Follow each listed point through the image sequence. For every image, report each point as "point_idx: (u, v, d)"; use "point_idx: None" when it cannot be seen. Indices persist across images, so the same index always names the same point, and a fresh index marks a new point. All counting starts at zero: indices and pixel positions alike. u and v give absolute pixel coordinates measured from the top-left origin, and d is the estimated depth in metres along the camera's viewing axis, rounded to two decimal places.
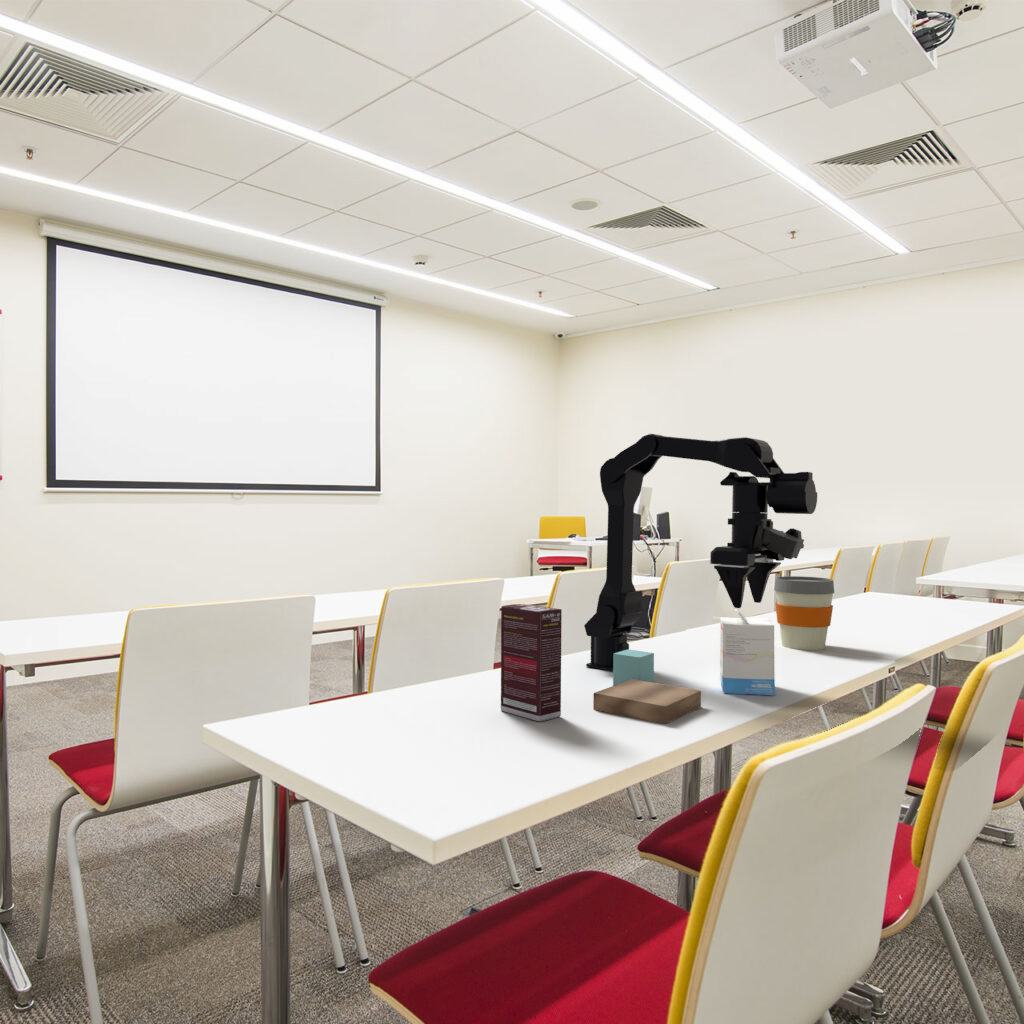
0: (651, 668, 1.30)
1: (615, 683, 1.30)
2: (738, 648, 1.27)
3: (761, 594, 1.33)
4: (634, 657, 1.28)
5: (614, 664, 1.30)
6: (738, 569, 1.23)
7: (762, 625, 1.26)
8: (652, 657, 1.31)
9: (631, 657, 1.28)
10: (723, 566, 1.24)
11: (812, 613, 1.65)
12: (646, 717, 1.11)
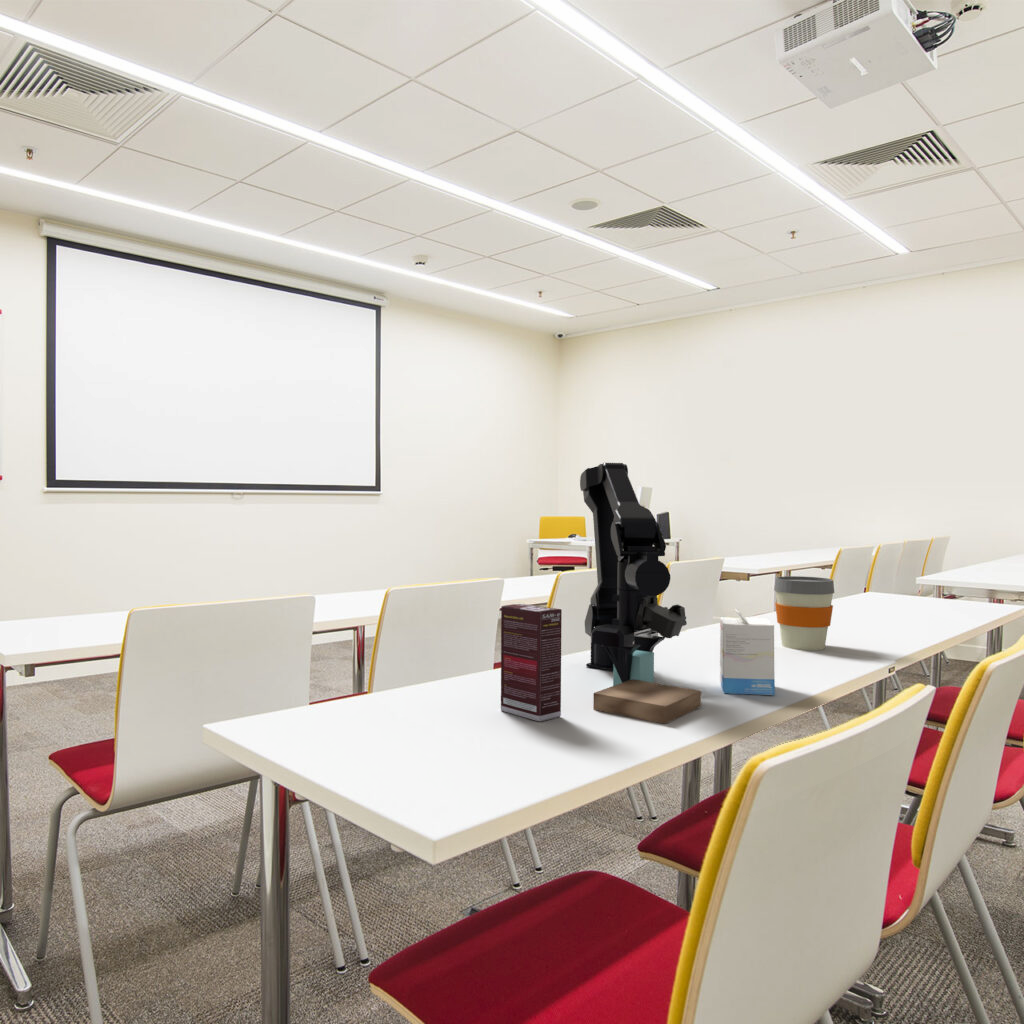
0: (651, 668, 1.30)
1: (615, 683, 1.30)
2: (738, 648, 1.27)
3: None
4: (634, 657, 1.28)
5: None
6: (622, 647, 1.25)
7: (762, 625, 1.26)
8: (652, 657, 1.31)
9: None
10: None
11: (812, 613, 1.65)
12: (646, 717, 1.11)
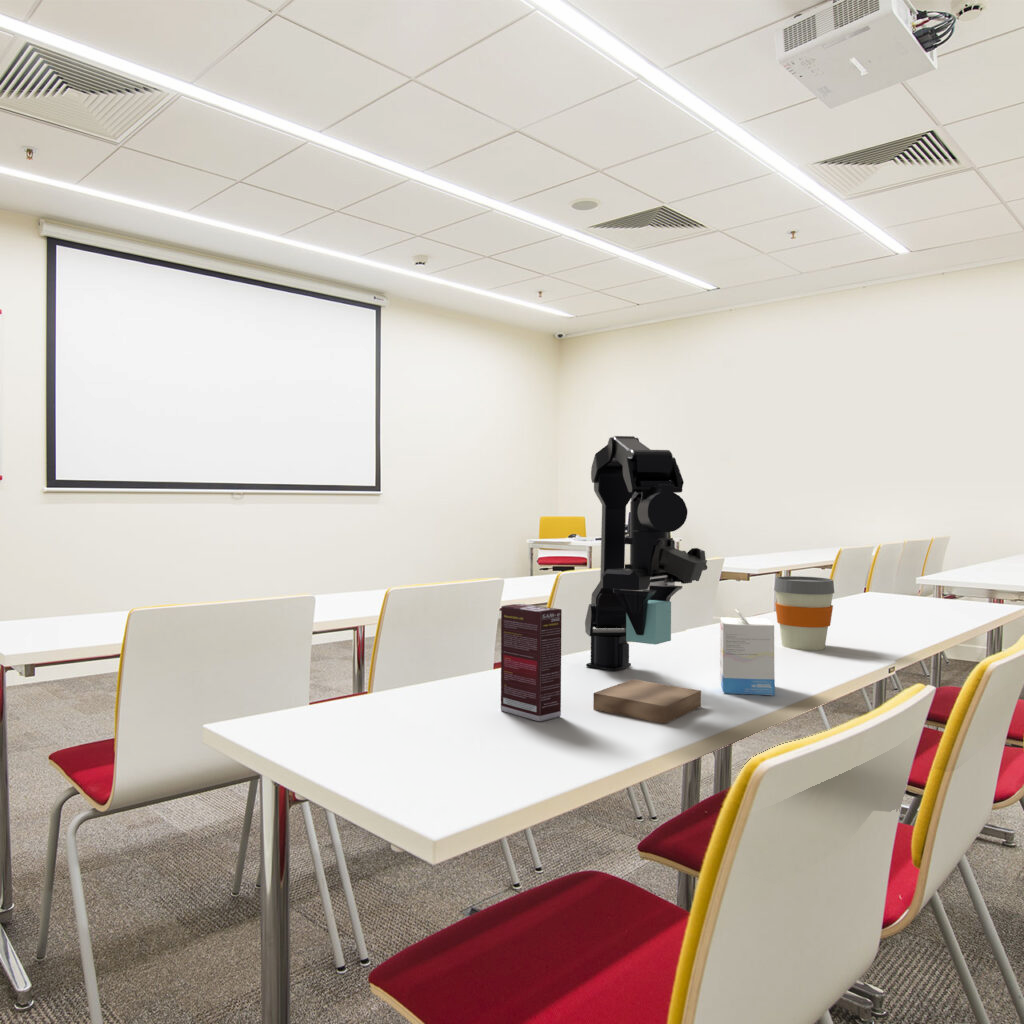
0: (668, 618, 1.18)
1: (628, 634, 1.17)
2: (738, 648, 1.27)
3: None
4: (649, 604, 1.15)
5: None
6: (637, 593, 1.12)
7: (762, 625, 1.26)
8: (669, 606, 1.18)
9: None
10: (622, 589, 1.14)
11: (812, 613, 1.65)
12: (646, 717, 1.11)
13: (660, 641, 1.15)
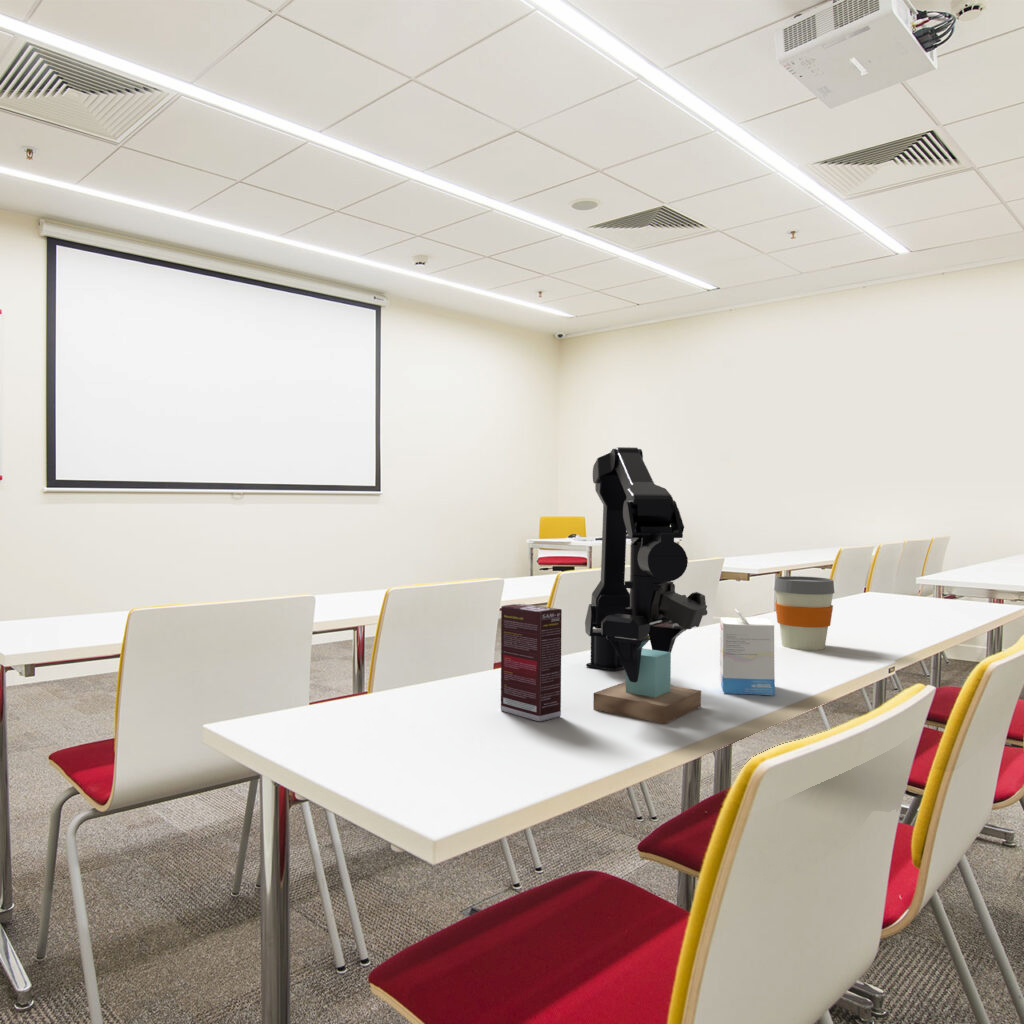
0: (668, 669, 1.17)
1: (628, 686, 1.17)
2: (738, 648, 1.27)
3: None
4: (649, 657, 1.15)
5: None
6: (630, 641, 1.10)
7: (762, 625, 1.26)
8: (669, 657, 1.18)
9: (646, 657, 1.15)
10: (615, 637, 1.12)
11: (812, 613, 1.65)
12: (646, 717, 1.11)
13: (659, 693, 1.15)
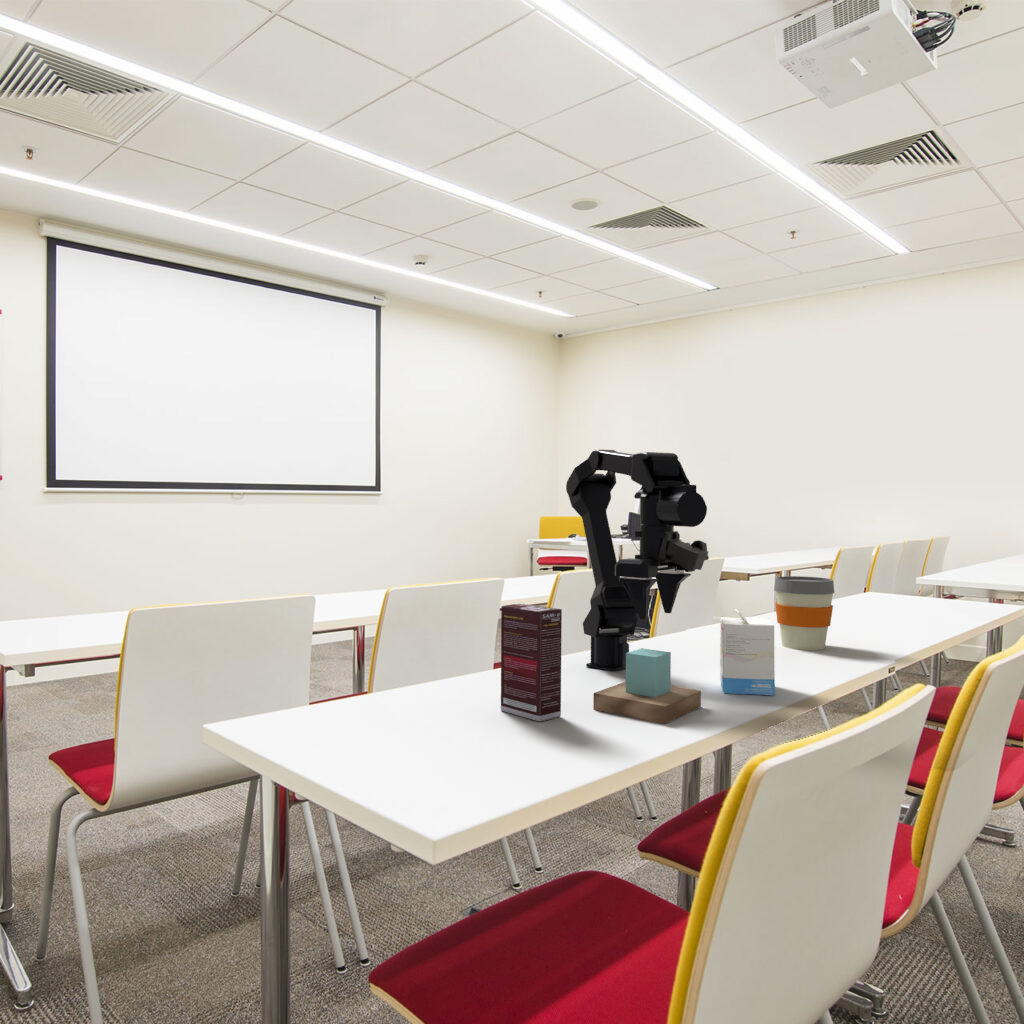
0: (668, 669, 1.17)
1: (628, 686, 1.17)
2: (738, 648, 1.27)
3: (671, 605, 1.35)
4: (649, 657, 1.15)
5: (627, 665, 1.17)
6: (640, 581, 1.25)
7: (762, 625, 1.26)
8: (669, 657, 1.18)
9: (646, 657, 1.15)
10: (627, 578, 1.27)
11: (812, 613, 1.65)
12: (646, 717, 1.11)
13: (659, 693, 1.15)
